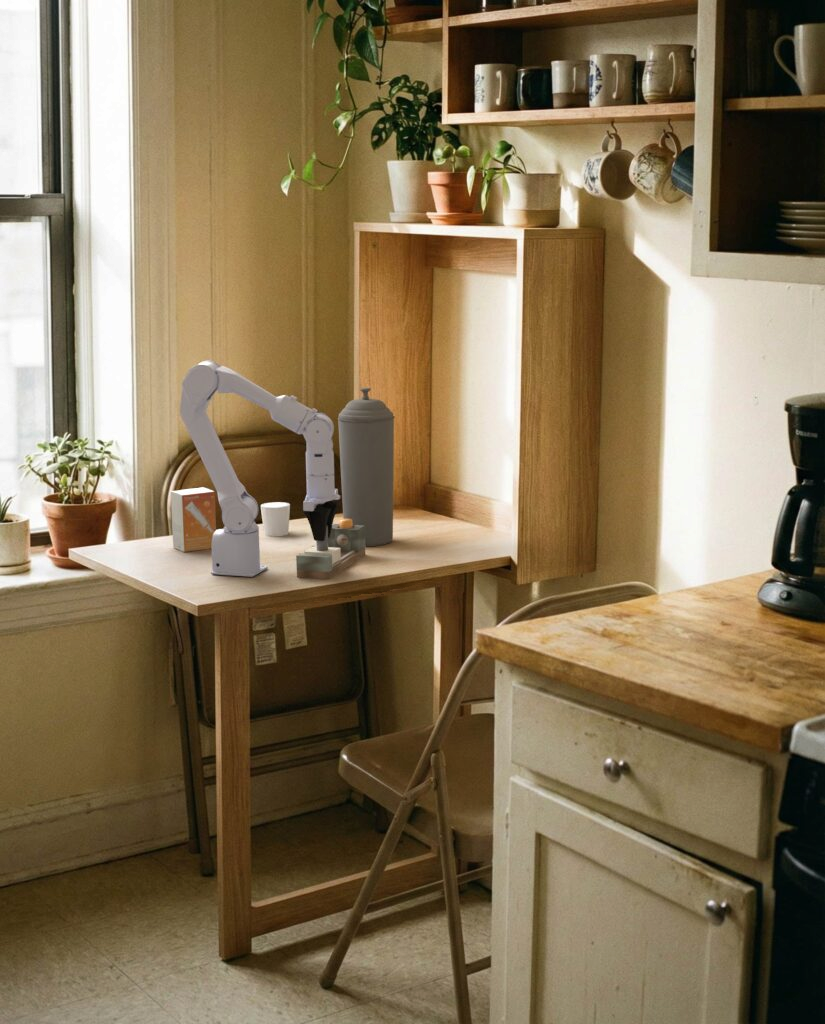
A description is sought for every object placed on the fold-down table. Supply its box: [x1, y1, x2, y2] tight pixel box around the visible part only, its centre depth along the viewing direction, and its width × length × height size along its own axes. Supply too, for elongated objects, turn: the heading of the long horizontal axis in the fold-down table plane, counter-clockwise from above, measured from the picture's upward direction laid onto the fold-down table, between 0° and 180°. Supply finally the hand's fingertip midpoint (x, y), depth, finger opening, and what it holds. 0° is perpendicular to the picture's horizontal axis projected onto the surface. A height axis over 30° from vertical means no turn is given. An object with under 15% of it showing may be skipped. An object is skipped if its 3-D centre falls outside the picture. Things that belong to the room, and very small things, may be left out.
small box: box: [170, 486, 217, 553], centre depth 302 cm, size 8×6×13 cm
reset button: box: [338, 518, 353, 529], centre depth 292 cm, size 3×3×3 cm
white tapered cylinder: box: [260, 501, 291, 537], centre depth 316 cm, size 7×7×7 cm
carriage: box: [304, 526, 341, 564], centre depth 279 cm, size 6×5×7 cm
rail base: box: [295, 523, 367, 580], centre depth 285 cm, size 7×22×6 cm, turn 162°
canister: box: [336, 387, 395, 547], centre depth 303 cm, size 13×13×35 cm
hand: (322, 538), depth 279 cm, fingers closed on carriage, 2 cm apart
